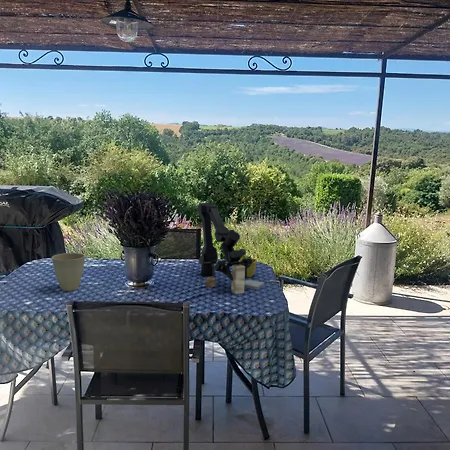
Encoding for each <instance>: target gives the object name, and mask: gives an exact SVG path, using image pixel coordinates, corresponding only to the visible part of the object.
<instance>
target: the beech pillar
mask: <svg viewBox="0 0 450 450" xmlns="http://www.w3.org/2000/svg"><path fill="white" fill-rule="evenodd" d="M231 274H232V276H233V281H232V280H231V291H232V293H234V295H239V294H245V288H244V282H245V281H246V279H245V266H243V265H232V266H231Z"/></svg>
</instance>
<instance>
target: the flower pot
mask: <svg viewBox="0 0 450 450" xmlns="http://www.w3.org/2000/svg"><path fill="white" fill-rule="evenodd" d="M240 258H241V259H240V260H239V262H240V261H243V259H244V258H245V257H240ZM251 259H252V261H253V263H252V264H251V265H250V267H249V268H247V278H252V277H253V276H254V274H255V271H256V268H257V262H258V259H257V258H251Z"/></svg>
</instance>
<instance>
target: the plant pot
mask: <svg viewBox="0 0 450 450" xmlns="http://www.w3.org/2000/svg"><path fill="white" fill-rule="evenodd" d="M85 258H86V255H85V254H84V253H80V252H66V253H59V254H55V255H53V256H51V262H52V265H53V266H52V267H53V270H54V273H55V277H56V279H57V282H58V284H59V286H60V289H61V290H62V291H65V292H71V291H76V290H78V289H79V287H80V284H81V280H82V276H83V272H84V268H85V262H86V261H85Z"/></svg>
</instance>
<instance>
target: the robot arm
mask: <svg viewBox="0 0 450 450" xmlns="http://www.w3.org/2000/svg"><path fill="white" fill-rule="evenodd" d="M218 209H219V208H218V206H217V205H216V204H212V203H211V202H199V204H197V206H196V210H197V213H198V216H199V218H200V220H201V227H202V234H203V235H202V237H203V247H202V249H201V255H200V256H199V258H198V264H200V267H201V269H200V271H201V272H200V273H199V276H206V277H211V276H213V275H216V272H219V273H221V274H223V275H225V276H226V277H227V278H229V279H230V281H231V282H232V281H233V276H232V270H231V269H230V267H231V268H232V265H243V266H245V280H248V277H247V268H249V267H250V265H251V264H252V263H253V261H252V259H253V258H251V257H244V256H246V254H247V253H246V252H247V251H246V249H245V248H240V249H237V250H235V246H237V243H238V242H239V240H240V239H241V235H240V233H238V232H237V231H235V230H234V229H229V228H228V227H227V226H226V225H224V223H223V219H222V217H221V214H220V212H219V211H218ZM212 226H213V228H214V229H215V230H214V239H215V241H216V242H217V243H221V244H220V246H219V250H222V253H223V259H222V260H218V258H219V257H218V249H217V247H215V246H214V244H213V240H214V239H213V232H212V231H213V230H212ZM241 258H244V259H243V261H240V260H241ZM239 261H240V262H239Z"/></svg>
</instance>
